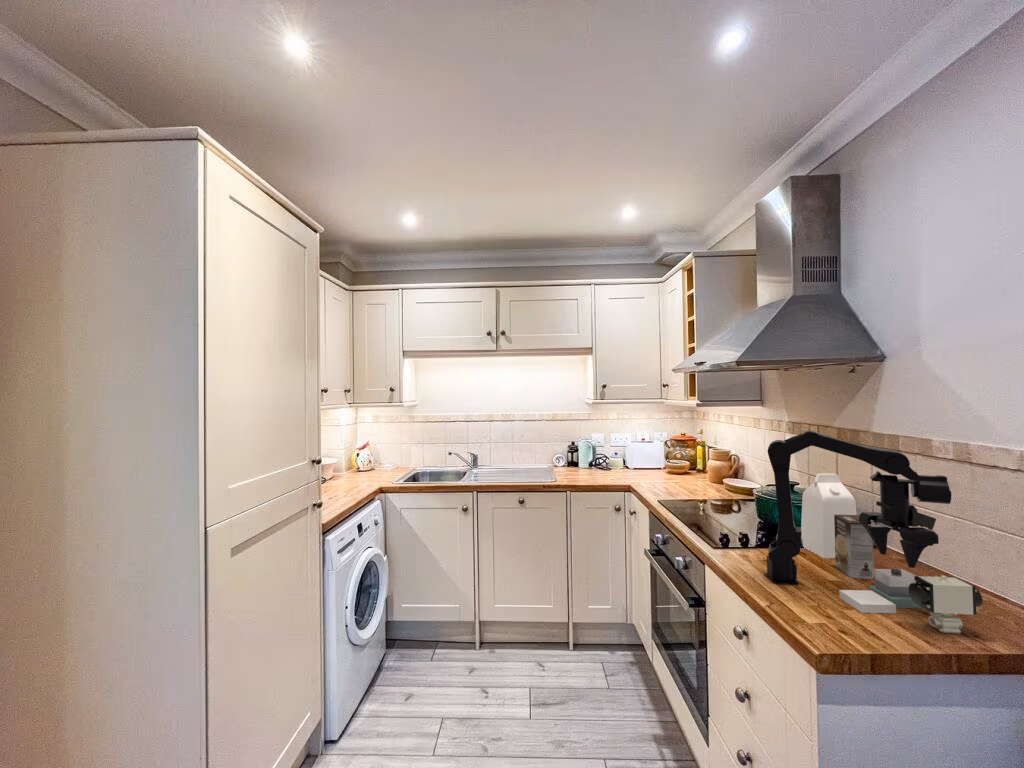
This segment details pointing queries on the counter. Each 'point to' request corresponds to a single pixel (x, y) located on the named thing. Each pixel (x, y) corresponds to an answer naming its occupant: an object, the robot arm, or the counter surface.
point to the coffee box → (853, 547)
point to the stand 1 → (867, 601)
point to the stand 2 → (897, 599)
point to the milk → (824, 513)
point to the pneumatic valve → (945, 600)
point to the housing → (893, 582)
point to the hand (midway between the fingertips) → (896, 560)
